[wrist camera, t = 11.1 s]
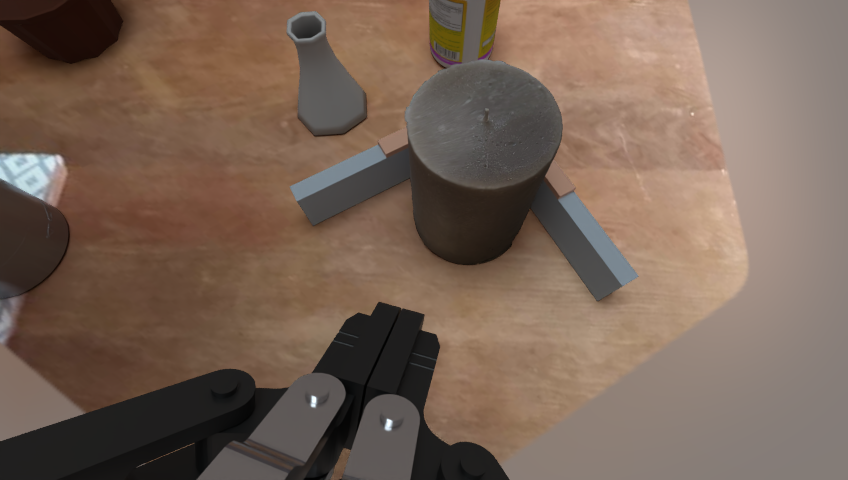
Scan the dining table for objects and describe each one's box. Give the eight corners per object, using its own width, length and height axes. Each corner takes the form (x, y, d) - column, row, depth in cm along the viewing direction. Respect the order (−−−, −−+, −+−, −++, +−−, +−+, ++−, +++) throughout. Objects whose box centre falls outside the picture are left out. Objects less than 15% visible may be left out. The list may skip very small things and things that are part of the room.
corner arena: (407, 414, 33) (403, 416, 28) (306, 212, 39) (287, 183, 34) (611, 292, 36) (642, 274, 31) (488, 123, 42) (496, 84, 37)
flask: (378, 123, 43) (364, 44, 33) (308, 147, 42) (273, 73, 32) (354, 69, 45) (334, -18, 36) (288, 91, 44) (250, 8, 35)
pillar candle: (524, 264, 37) (583, 177, 23) (412, 265, 37) (402, 179, 23) (515, 167, 41) (561, 40, 27) (412, 168, 41) (404, 42, 27)
